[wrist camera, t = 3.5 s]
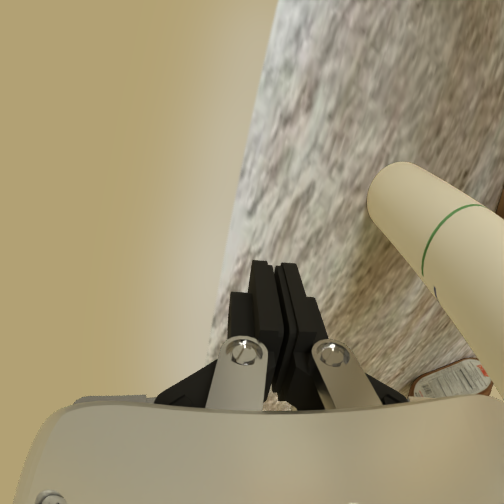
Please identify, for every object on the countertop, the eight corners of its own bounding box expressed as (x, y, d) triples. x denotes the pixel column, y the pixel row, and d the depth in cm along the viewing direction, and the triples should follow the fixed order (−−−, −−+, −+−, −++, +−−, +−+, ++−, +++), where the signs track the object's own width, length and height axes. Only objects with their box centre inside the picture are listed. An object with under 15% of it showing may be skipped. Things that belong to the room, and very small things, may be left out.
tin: (399, 390, 43) (416, 433, 36) (401, 379, 42) (420, 423, 34) (476, 359, 42) (498, 395, 34) (481, 347, 40) (505, 384, 33)
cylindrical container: (384, 244, 30) (525, 471, 8) (354, 186, 27) (550, 436, 6) (439, 208, 29) (613, 389, 7) (415, 148, 26) (653, 315, 4)
